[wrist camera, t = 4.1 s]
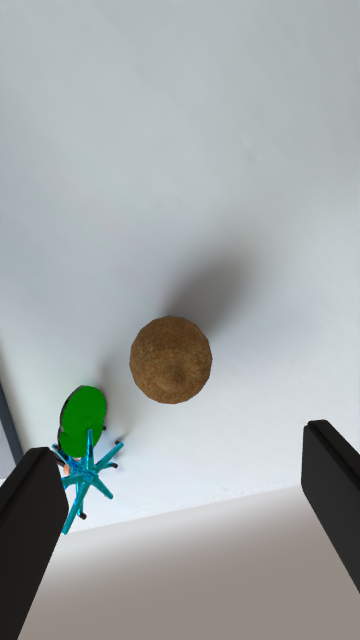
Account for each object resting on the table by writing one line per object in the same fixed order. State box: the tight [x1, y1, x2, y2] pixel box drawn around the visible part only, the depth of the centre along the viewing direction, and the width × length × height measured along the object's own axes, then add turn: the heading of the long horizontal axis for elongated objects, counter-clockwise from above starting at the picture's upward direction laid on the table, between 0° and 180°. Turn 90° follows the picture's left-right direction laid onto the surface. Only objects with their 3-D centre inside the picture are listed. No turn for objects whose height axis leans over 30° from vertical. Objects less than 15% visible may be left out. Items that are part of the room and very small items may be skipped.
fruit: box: [130, 316, 212, 404], centre depth 18 cm, size 6×6×8 cm
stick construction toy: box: [52, 385, 124, 535], centre depth 23 cm, size 12×7×8 cm
